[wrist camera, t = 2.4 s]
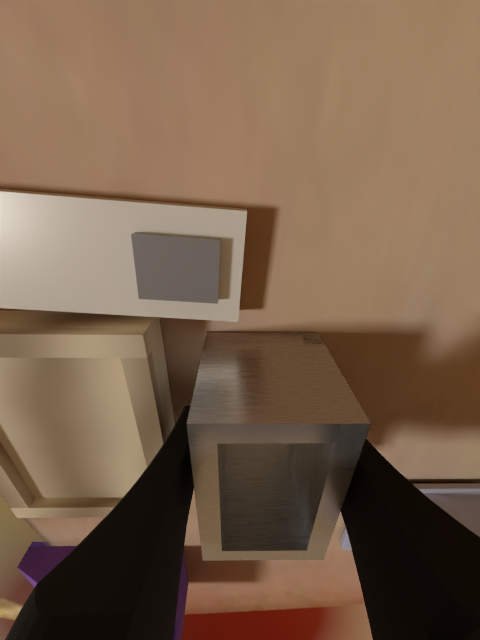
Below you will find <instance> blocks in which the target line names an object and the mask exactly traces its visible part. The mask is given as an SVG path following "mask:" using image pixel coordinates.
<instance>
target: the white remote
mask: <svg viewBox="0 0 480 640" xmlns="http://www.w3.org/2000/svg"><path fill="white" fill-rule="evenodd" d="M246 220H247V210H246V209H243V208H231V207H218V206H206V205H194V204H182V203H169V202H157V201H145V200H132V199H120V198H108V197H95V196H83V195H71V194H58V193H46V192H34V191H22V190H9V189H0V308H9V309H26V310H43V311H60V312H77V313H94V314H111V315H129V316H146V317H163V318H180V319H197V320H214V321H232V322H238V318H239V306H240V294H241V281H242V269H243V257H244V244H245V232H246Z"/></svg>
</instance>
